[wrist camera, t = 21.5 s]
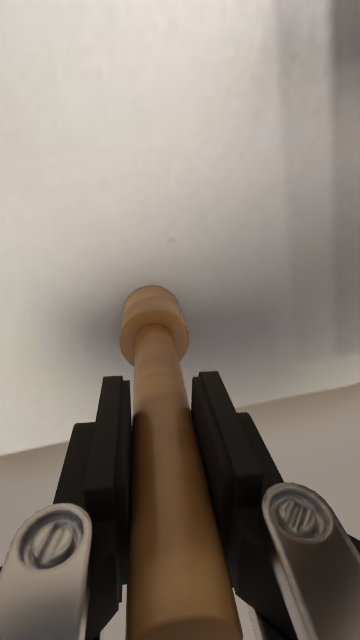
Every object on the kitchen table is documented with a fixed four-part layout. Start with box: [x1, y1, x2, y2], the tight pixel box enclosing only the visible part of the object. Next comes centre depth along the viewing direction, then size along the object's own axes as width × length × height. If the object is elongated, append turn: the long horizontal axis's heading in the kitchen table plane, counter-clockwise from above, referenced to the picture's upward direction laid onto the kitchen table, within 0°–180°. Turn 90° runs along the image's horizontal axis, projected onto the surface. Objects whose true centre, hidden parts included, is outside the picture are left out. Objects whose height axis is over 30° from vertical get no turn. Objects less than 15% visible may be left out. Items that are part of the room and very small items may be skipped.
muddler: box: [119, 286, 243, 640], centre depth 12 cm, size 3×3×15 cm
